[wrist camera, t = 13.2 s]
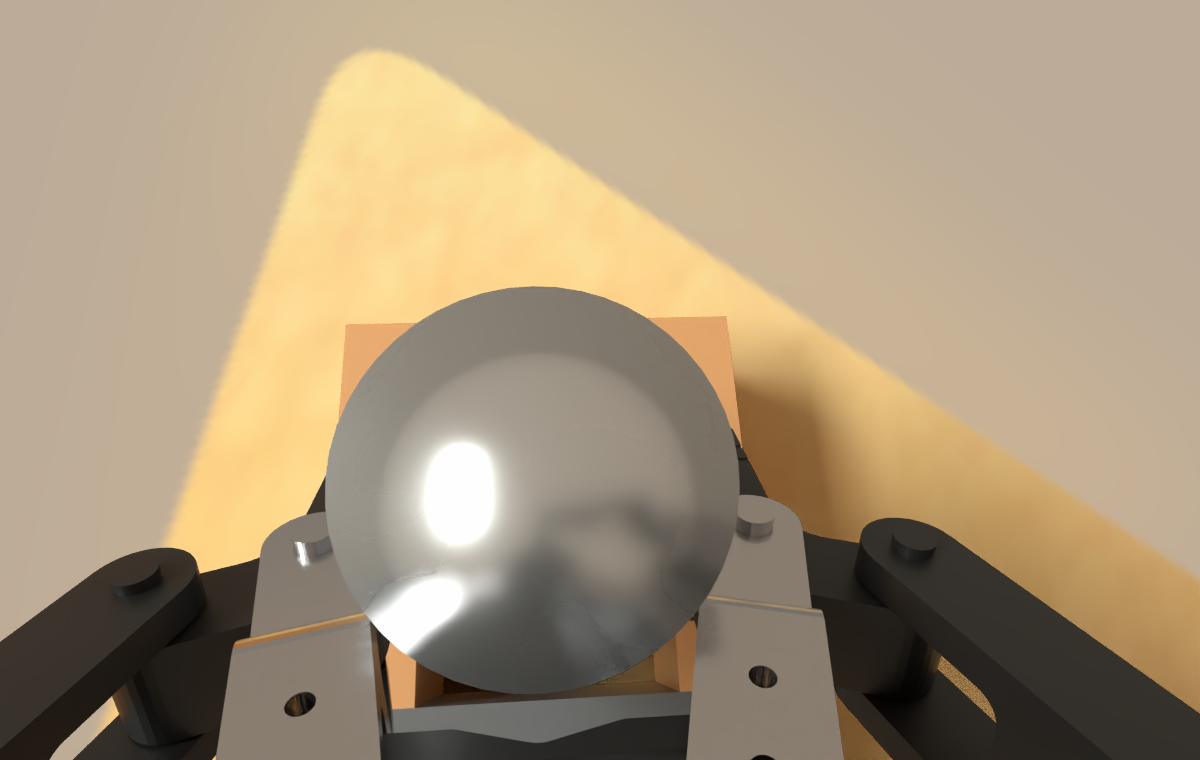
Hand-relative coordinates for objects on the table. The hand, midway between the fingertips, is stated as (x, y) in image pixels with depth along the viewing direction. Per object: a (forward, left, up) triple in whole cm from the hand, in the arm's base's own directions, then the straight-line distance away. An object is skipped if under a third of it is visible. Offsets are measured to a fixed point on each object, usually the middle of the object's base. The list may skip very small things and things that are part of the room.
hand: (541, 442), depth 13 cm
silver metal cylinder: (0, +2, -6) cm, 6 cm away
